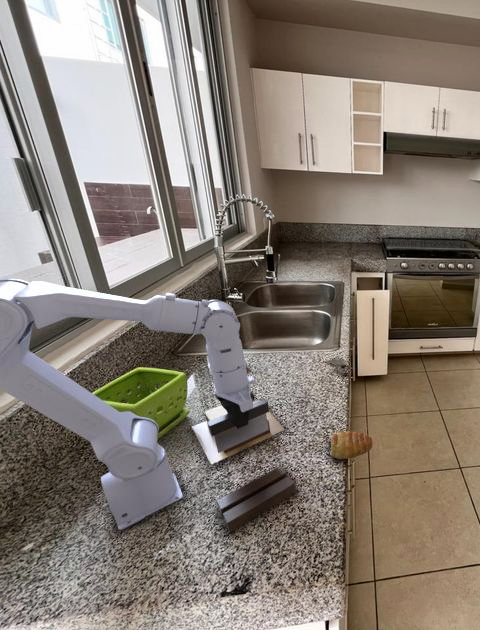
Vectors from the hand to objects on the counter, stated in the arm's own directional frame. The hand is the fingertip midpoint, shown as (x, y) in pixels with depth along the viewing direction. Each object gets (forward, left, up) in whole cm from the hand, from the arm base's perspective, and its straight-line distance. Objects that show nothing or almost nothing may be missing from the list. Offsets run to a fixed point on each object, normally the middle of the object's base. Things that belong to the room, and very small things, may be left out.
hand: (240, 423), depth 70 cm
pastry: (+18, -11, -11) cm, 24 cm away
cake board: (+2, +12, -10) cm, 16 cm away
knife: (0, 0, -5) cm, 5 cm away
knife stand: (-2, -11, -10) cm, 15 cm away
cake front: (+2, +8, -10) cm, 13 cm away
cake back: (+2, +16, -10) cm, 19 cm away
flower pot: (-13, +26, -11) cm, 31 cm away
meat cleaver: (+35, +21, -10) cm, 42 cm away
